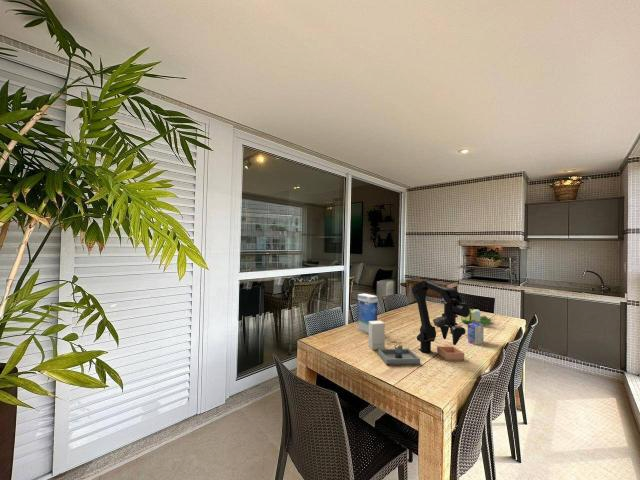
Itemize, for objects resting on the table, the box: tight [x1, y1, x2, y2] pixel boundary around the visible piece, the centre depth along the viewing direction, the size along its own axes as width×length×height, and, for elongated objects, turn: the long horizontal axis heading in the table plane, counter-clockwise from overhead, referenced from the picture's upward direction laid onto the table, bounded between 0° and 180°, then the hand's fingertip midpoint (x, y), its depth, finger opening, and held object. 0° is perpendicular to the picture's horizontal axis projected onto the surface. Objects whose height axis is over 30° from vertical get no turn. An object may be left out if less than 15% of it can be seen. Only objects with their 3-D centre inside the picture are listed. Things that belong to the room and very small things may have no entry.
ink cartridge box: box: [467, 320, 485, 346], centre depth 180 cm, size 10×6×14 cm, turn 121°
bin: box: [436, 345, 465, 362], centre depth 156 cm, size 10×10×4 cm
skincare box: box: [368, 320, 386, 351], centre depth 167 cm, size 8×7×16 cm
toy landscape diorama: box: [460, 307, 492, 326], centre depth 227 cm, size 35×20×13 cm, turn 127°
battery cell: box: [394, 344, 403, 359], centre depth 151 cm, size 4×4×7 cm
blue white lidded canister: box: [357, 293, 378, 335], centre depth 199 cm, size 13×8×26 cm, turn 35°
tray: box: [377, 348, 421, 366], centre depth 151 cm, size 14×18×3 cm
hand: (449, 342), depth 146 cm, fingers open, 9 cm apart
